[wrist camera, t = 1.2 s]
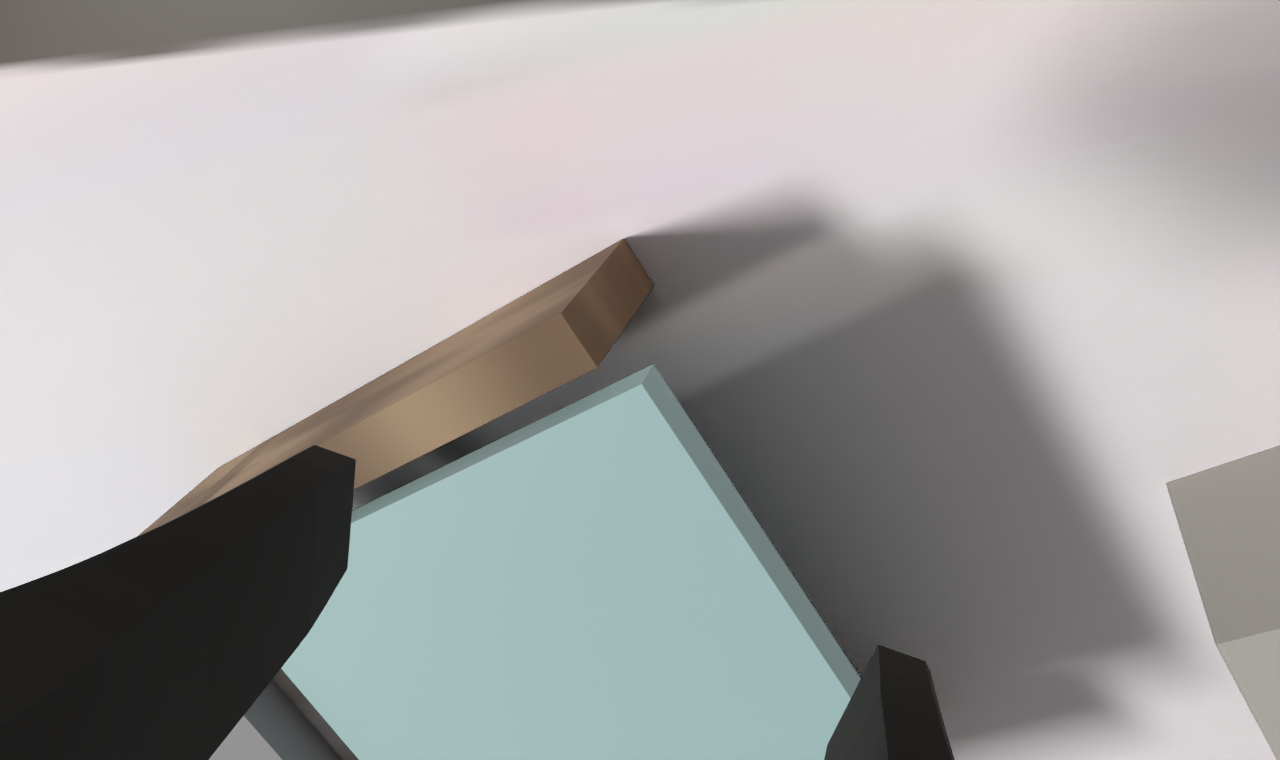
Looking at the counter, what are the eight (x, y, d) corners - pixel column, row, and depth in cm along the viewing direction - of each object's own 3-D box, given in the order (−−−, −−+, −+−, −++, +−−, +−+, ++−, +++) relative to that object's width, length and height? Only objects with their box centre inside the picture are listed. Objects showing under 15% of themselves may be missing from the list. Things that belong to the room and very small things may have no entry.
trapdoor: (387, 893, 30) (344, 971, 28) (134, 607, 27) (65, 671, 25) (939, 766, 22) (936, 862, 20) (664, 344, 19) (628, 406, 17)
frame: (513, 830, 32) (447, 976, 28) (215, 465, 28) (88, 572, 24) (935, 724, 26) (929, 893, 21) (621, 234, 22) (541, 327, 18)
